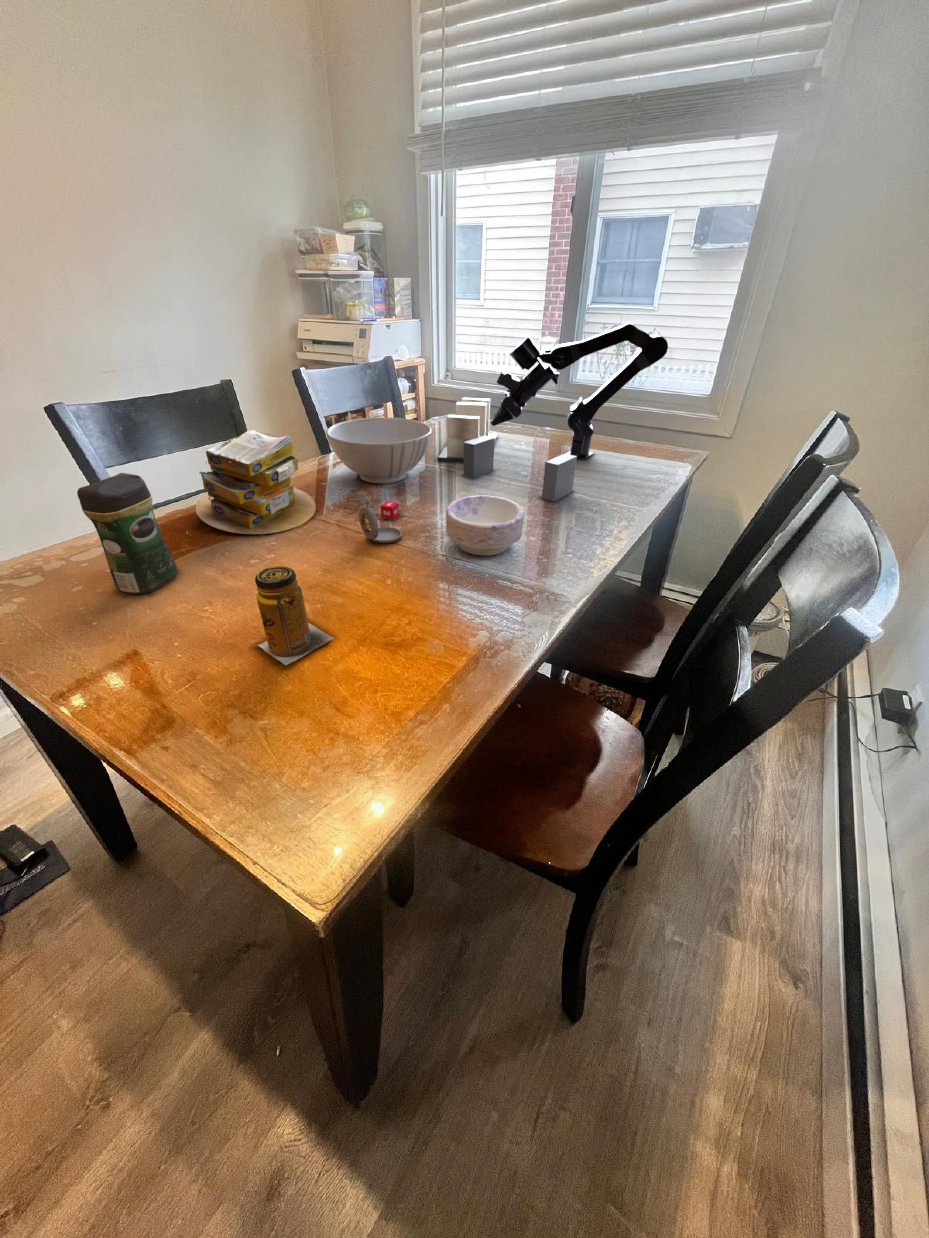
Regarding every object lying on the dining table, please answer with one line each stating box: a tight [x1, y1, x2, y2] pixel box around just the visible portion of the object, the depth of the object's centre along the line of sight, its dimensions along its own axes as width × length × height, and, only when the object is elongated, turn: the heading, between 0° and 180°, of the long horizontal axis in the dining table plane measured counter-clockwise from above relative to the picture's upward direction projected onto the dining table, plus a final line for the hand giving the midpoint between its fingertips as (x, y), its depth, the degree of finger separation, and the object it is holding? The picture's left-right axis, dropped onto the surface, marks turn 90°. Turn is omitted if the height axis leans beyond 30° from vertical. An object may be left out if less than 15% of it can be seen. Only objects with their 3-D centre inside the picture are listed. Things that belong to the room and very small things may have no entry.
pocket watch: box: [358, 494, 402, 544], centre depth 104 cm, size 8×8×10 cm
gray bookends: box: [462, 436, 578, 502], centre depth 133 cm, size 9×28×9 cm, turn 51°
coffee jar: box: [76, 472, 179, 595], centre depth 85 cm, size 10×8×19 cm
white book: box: [455, 401, 487, 437], centre depth 158 cm, size 9×4×12 cm, turn 83°
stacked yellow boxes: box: [195, 429, 317, 535], centre depth 112 cm, size 25×25×17 cm
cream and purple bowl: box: [445, 494, 525, 557], centre depth 102 cm, size 15×15×8 cm
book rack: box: [437, 397, 498, 464], centre depth 158 cm, size 14×30×12 cm, turn 171°
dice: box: [379, 500, 400, 521], centre depth 115 cm, size 3×3×3 cm
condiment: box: [254, 565, 335, 666], centre depth 73 cm, size 7×8×12 cm
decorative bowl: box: [325, 416, 433, 484], centre depth 136 cm, size 27×27×12 cm
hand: (493, 421), depth 156 cm, fingers open, 9 cm apart
